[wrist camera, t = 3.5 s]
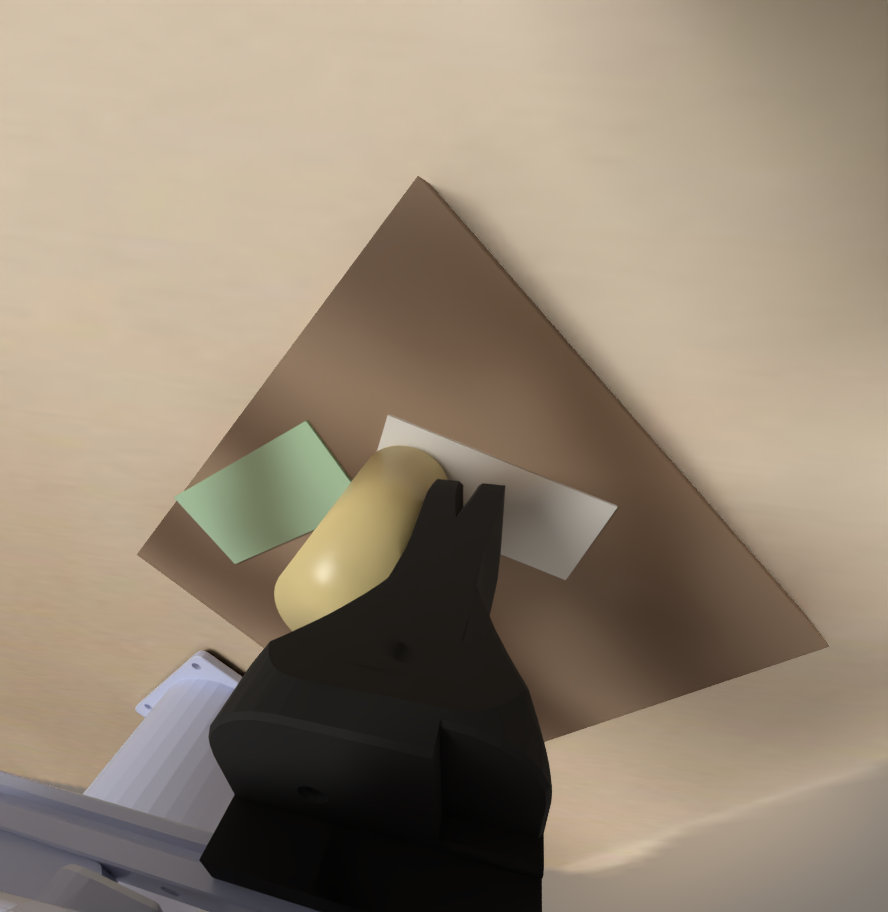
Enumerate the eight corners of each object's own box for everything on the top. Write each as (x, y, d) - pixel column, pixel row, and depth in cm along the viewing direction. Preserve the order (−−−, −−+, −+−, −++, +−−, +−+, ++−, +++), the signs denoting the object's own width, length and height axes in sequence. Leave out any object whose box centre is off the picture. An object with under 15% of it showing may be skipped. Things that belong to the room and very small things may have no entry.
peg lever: (455, 718, 18) (431, 874, 13) (346, 693, 18) (288, 833, 14) (490, 458, 12) (467, 585, 7) (325, 434, 12) (212, 538, 8)
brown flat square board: (443, 751, 22) (438, 779, 21) (157, 534, 18) (132, 554, 17) (806, 616, 14) (831, 649, 13) (425, 179, 10) (412, 171, 9)
